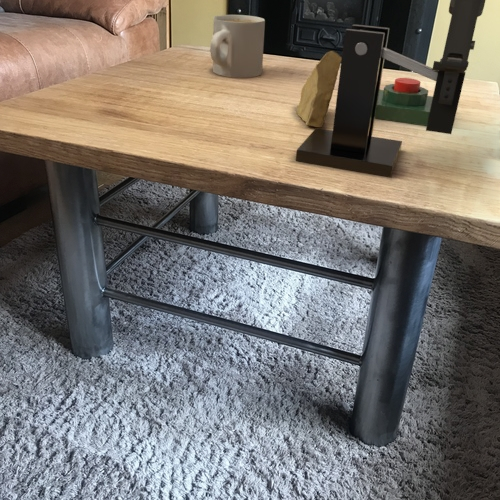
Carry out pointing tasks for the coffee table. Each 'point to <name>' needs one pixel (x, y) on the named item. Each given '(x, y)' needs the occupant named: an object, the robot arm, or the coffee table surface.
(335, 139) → the cutter
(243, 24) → the coffee mug
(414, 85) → the button
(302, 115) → the rock
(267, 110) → the coffee table surface
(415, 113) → the block
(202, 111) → the coffee table surface
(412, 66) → the knife lever
